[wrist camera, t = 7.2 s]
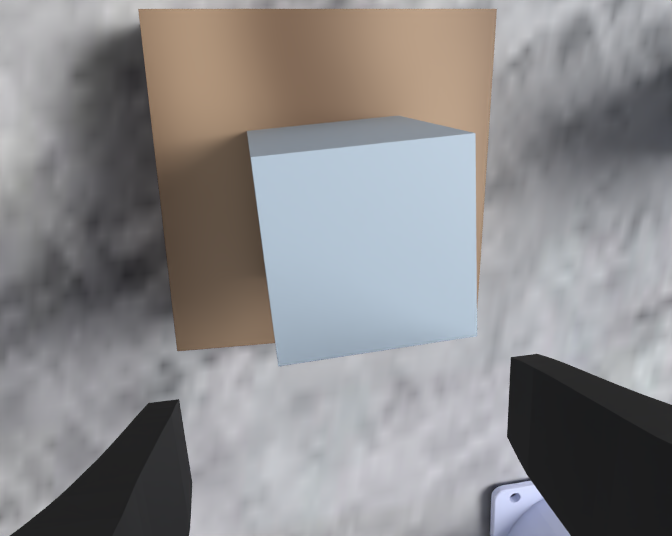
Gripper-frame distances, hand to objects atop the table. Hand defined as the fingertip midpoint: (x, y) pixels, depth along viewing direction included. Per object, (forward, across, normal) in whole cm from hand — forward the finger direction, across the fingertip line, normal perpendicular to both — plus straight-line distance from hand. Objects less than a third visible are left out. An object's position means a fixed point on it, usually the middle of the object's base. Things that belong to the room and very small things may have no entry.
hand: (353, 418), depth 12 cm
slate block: (+7, -1, -3) cm, 8 cm away
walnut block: (+11, -1, -4) cm, 11 cm away
